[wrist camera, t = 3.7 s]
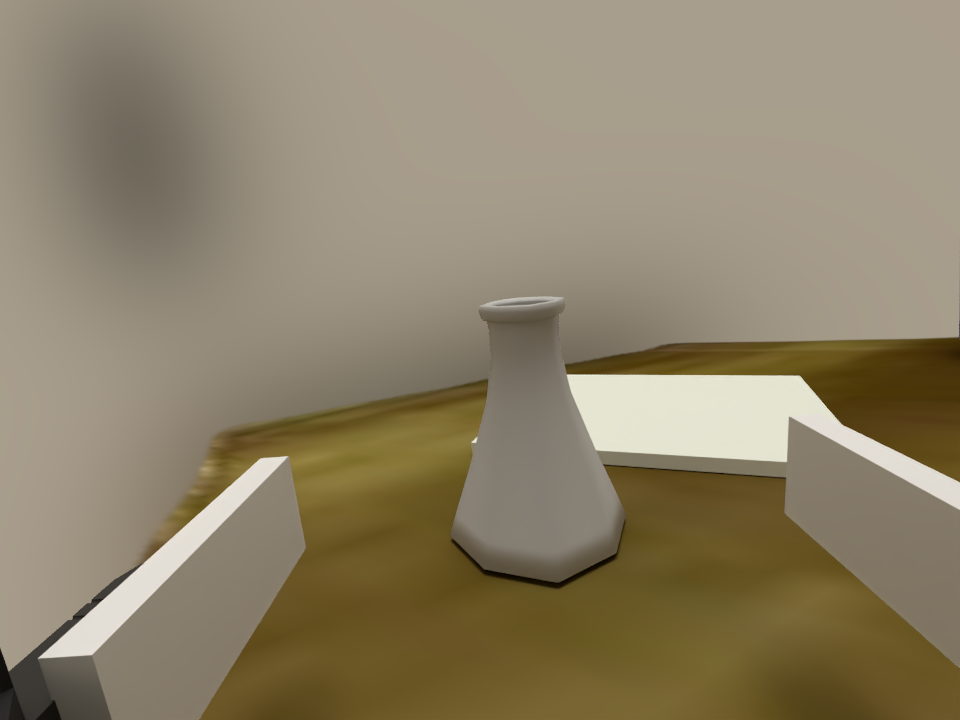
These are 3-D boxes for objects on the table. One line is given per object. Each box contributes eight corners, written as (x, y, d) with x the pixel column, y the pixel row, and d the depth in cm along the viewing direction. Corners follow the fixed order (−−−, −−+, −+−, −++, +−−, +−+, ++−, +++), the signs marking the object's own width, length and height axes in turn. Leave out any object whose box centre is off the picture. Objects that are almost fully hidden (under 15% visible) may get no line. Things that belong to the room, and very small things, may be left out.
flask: (521, 478, 26) (506, 291, 24) (654, 517, 22) (649, 288, 19) (421, 545, 21) (390, 314, 19) (567, 615, 16) (548, 317, 14)
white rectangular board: (799, 386, 37) (799, 375, 37) (877, 484, 22) (878, 467, 22) (539, 383, 44) (539, 374, 44) (472, 454, 30) (471, 442, 30)
